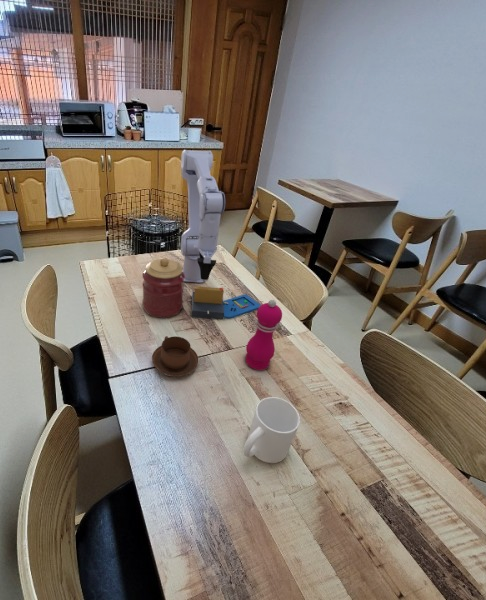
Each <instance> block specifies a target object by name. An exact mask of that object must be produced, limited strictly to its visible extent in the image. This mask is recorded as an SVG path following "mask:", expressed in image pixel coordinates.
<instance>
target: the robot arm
mask: <svg viewBox="0 0 486 600" xmlns="http://www.w3.org/2000/svg"><path fill="white" fill-rule="evenodd" d="M180 156H181V157H180V171H181V172H180V173H181V178H182V179H184V180H185V181H186V186H187V211H188V212H187V213H188V228H187V230H185V231H184V232H183V233H182V234H181V237H180V254H181V255H182V256H183V267H182V268H183V273H184V274H185V279H184V281H183V283H184V282H185V283H198V284H203V283H204V280H205V281H208V280H209V278H210V275H211V272H212V270H213V268H214V267H215V266H216V264H217V260H216V259H212V258H213V256H214V255H215V254H216V252H217V251H218V247H217V246H218V240H219V239H218V238H219V232H220V225H221V224H220V223H221V215H222V214H224V212H225V208H226V196H225V192H223V191H222V190H219V186H218V184H217V181H216V178H215V177H214V176H212V175H211V170H212V168H213V164H214V154H213V152H212V151H211V150H187V149H183V151H182V152H181V155H180Z"/></svg>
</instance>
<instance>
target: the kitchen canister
mask: <svg viewBox="0 0 486 600" xmlns="http://www.w3.org/2000/svg"><path fill="white" fill-rule="evenodd" d="M183 268H184V267H183V266H182V265H181V264H180V263H178V262H177V261H176V260H173V259H170V258H168V257H166V256H163V257H161V258H156V259H153V260H151V261H150V262H147V264H146V265H145V268H144V271H143V272H142V279H143V281H142V307H143V310H144V311H145V313H147V314H148V315H150V316H153V317H155V318H162V319H164V318H171V317H175V316H176V315H178V314H179V313H180V312H181V311H182V308H183V306H184V301H183V298H184V289H185V283H184V279H185V274H184V273H183Z"/></svg>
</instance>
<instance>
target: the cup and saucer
mask: <svg viewBox="0 0 486 600" xmlns="http://www.w3.org/2000/svg"><path fill="white" fill-rule="evenodd" d="M151 359H152V364H153V366H154V368H155V369H156V370H157V371H158V372H160V373H161V374H164V375H166V376H169V377H183V376H187V375H189V374H191V373H192V372H194V371H195V370H196V368H197V367H198V365H199V356H198V354H197V352H196V351H195V349H193V347H192V346H191V343H190V341H188V340H187V339H186V338H184V337H181V336H167V335H165V336H164V340H163V341H162V343H161V345H160V346H157V348H156V349H155V350H154V351H153V353H152V356H151Z"/></svg>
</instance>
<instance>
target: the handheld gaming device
mask: <svg viewBox="0 0 486 600" xmlns="http://www.w3.org/2000/svg"><path fill="white" fill-rule="evenodd" d="M224 302H227V303H228V304H227V303H224ZM261 305H262V304H260V303H259V302H257V301H256V300H255V299H253V298H251V297H250V296H249V295H248V294H241V295H238V296H234V297H232V298H229V299H225V300H223V306H224V317H223V319H228V320H229V319H234V318H237V317H240V316H243V315H245V314H248V313H251V312H254V311H257V310H258V308H259V307H260V306H261Z"/></svg>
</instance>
